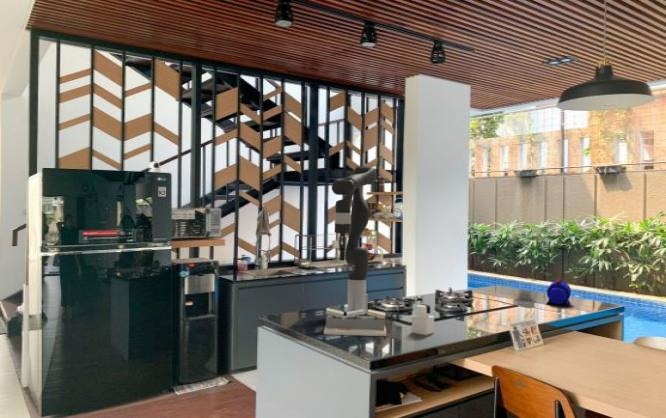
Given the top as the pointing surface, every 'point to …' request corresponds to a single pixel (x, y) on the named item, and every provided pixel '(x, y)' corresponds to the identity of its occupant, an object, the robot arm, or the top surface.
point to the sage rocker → (334, 312)
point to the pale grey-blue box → (355, 313)
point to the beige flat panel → (376, 314)
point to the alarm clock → (559, 293)
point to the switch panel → (354, 332)
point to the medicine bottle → (423, 320)
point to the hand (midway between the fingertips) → (342, 260)
